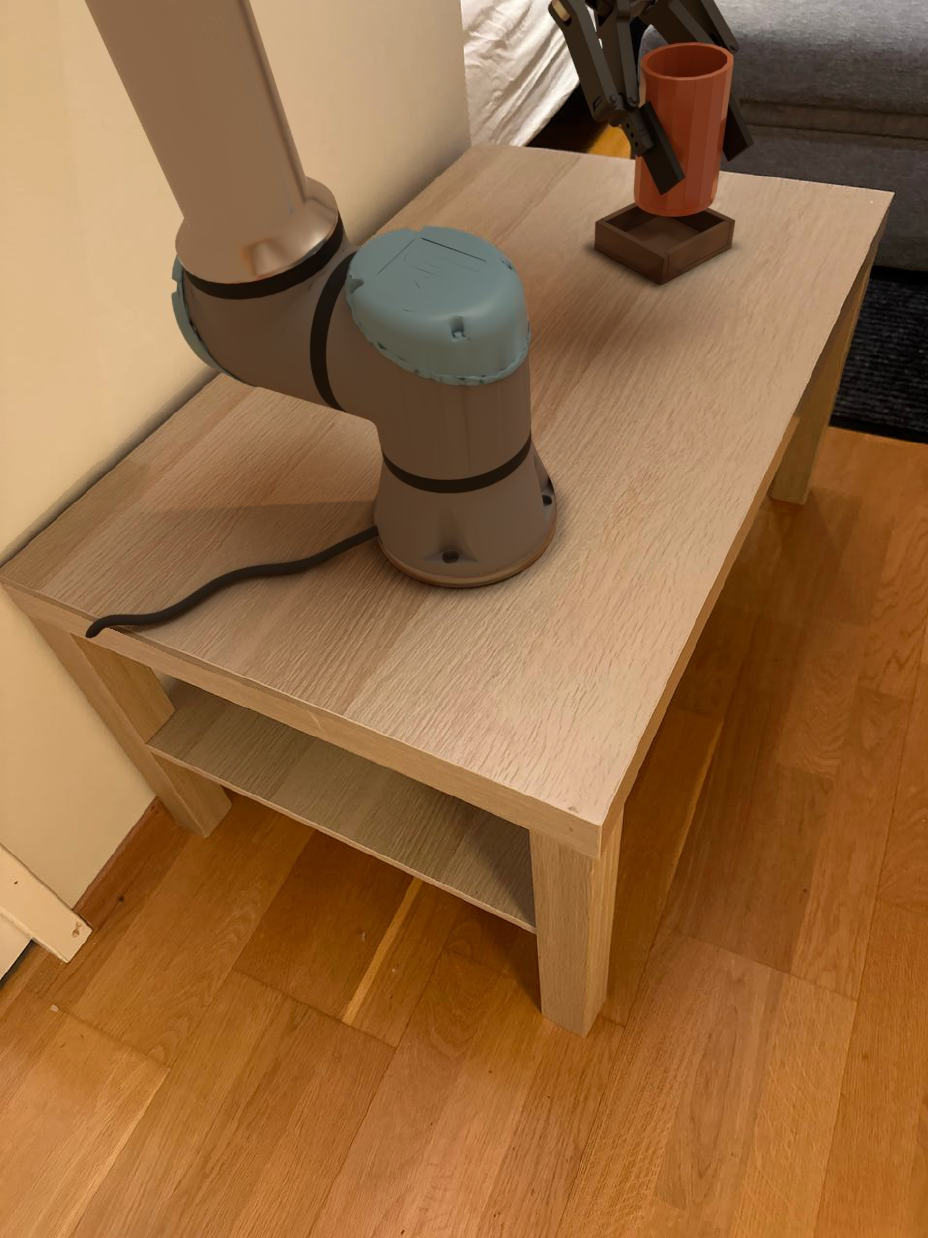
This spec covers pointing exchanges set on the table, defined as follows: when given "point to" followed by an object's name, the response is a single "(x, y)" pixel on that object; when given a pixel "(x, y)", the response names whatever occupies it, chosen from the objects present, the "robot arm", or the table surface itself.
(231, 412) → the table surface
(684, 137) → the pencil cup
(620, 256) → the tray
